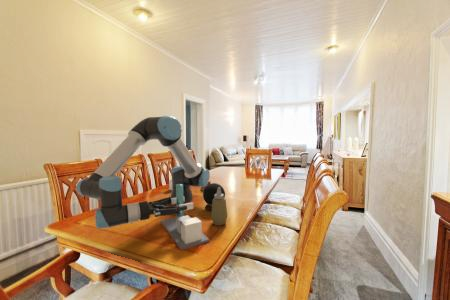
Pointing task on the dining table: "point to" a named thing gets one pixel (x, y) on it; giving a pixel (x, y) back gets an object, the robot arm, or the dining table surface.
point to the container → (170, 184)
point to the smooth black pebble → (211, 194)
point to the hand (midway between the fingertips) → (188, 202)
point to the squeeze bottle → (219, 208)
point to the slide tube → (179, 198)
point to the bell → (205, 186)
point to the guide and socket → (185, 231)
